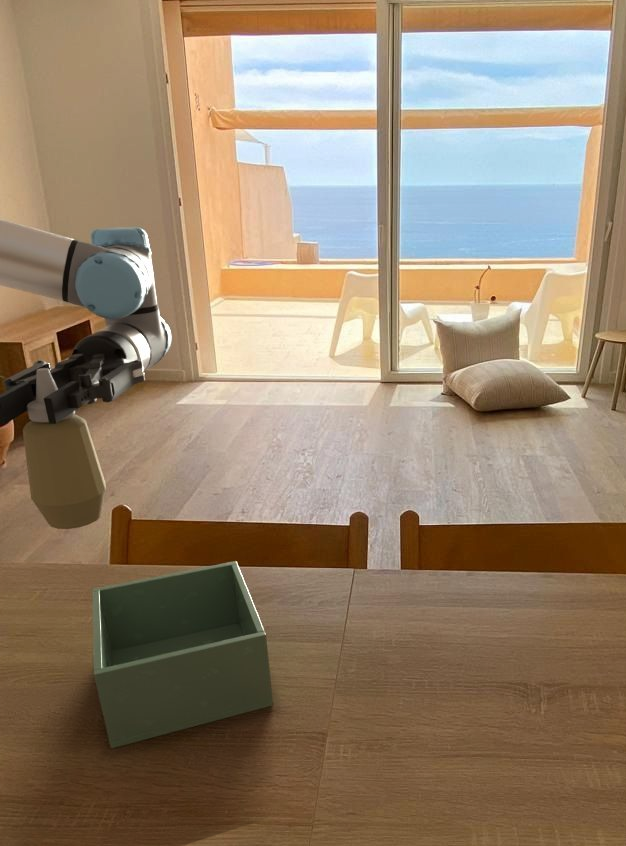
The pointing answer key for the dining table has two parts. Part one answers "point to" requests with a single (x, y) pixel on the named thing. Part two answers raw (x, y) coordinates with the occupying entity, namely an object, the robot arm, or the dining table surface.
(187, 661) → the storage bin
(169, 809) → the dining table surface
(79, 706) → the dining table surface
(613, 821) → the dining table surface
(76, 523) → the squeeze bottle
